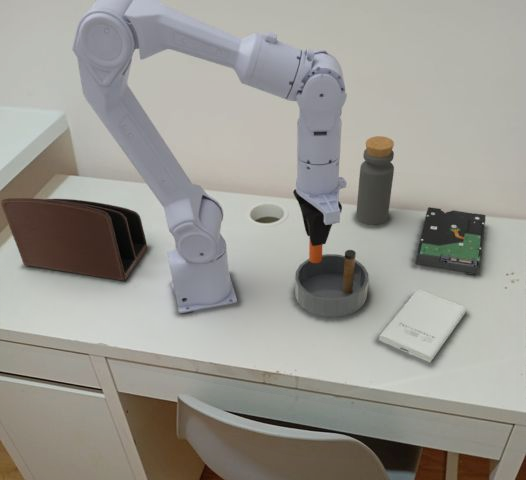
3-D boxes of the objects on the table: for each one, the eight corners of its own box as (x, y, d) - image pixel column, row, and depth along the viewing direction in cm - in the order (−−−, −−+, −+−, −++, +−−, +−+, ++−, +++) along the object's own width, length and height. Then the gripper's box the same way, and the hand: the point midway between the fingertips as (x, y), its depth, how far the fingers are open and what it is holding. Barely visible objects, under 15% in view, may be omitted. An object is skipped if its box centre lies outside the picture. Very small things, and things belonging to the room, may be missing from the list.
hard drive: (464, 315, 89) (429, 364, 82) (415, 296, 92) (378, 341, 86) (466, 307, 88) (431, 356, 81) (417, 288, 91) (379, 333, 85)
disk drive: (424, 219, 107) (414, 266, 98) (426, 206, 105) (416, 253, 96) (482, 227, 105) (478, 276, 95) (486, 213, 103) (482, 262, 93)
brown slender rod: (344, 294, 93) (346, 256, 88) (340, 288, 94) (343, 250, 89) (353, 292, 93) (357, 255, 88) (350, 286, 94) (353, 248, 89)
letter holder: (125, 282, 98) (105, 210, 88) (23, 266, 102) (-7, 196, 92) (148, 248, 105) (132, 177, 95) (52, 234, 109) (27, 166, 99)
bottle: (386, 228, 106) (396, 151, 95) (354, 226, 107) (361, 149, 96) (388, 210, 110) (398, 135, 99) (357, 208, 111) (363, 133, 100)
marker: (310, 264, 89) (311, 217, 83) (307, 256, 90) (307, 209, 84) (323, 262, 89) (325, 214, 83) (320, 254, 91) (321, 207, 85)
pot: (306, 325, 89) (306, 305, 86) (287, 280, 97) (287, 260, 94) (376, 311, 90) (379, 292, 87) (352, 268, 98) (354, 249, 95)
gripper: (365, 176, 73) (357, 262, 83) (330, 127, 83) (327, 209, 92) (311, 185, 72) (309, 271, 82) (283, 134, 82) (284, 216, 92)
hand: (316, 239), depth 87 cm, fingers closed on marker, 2 cm apart
